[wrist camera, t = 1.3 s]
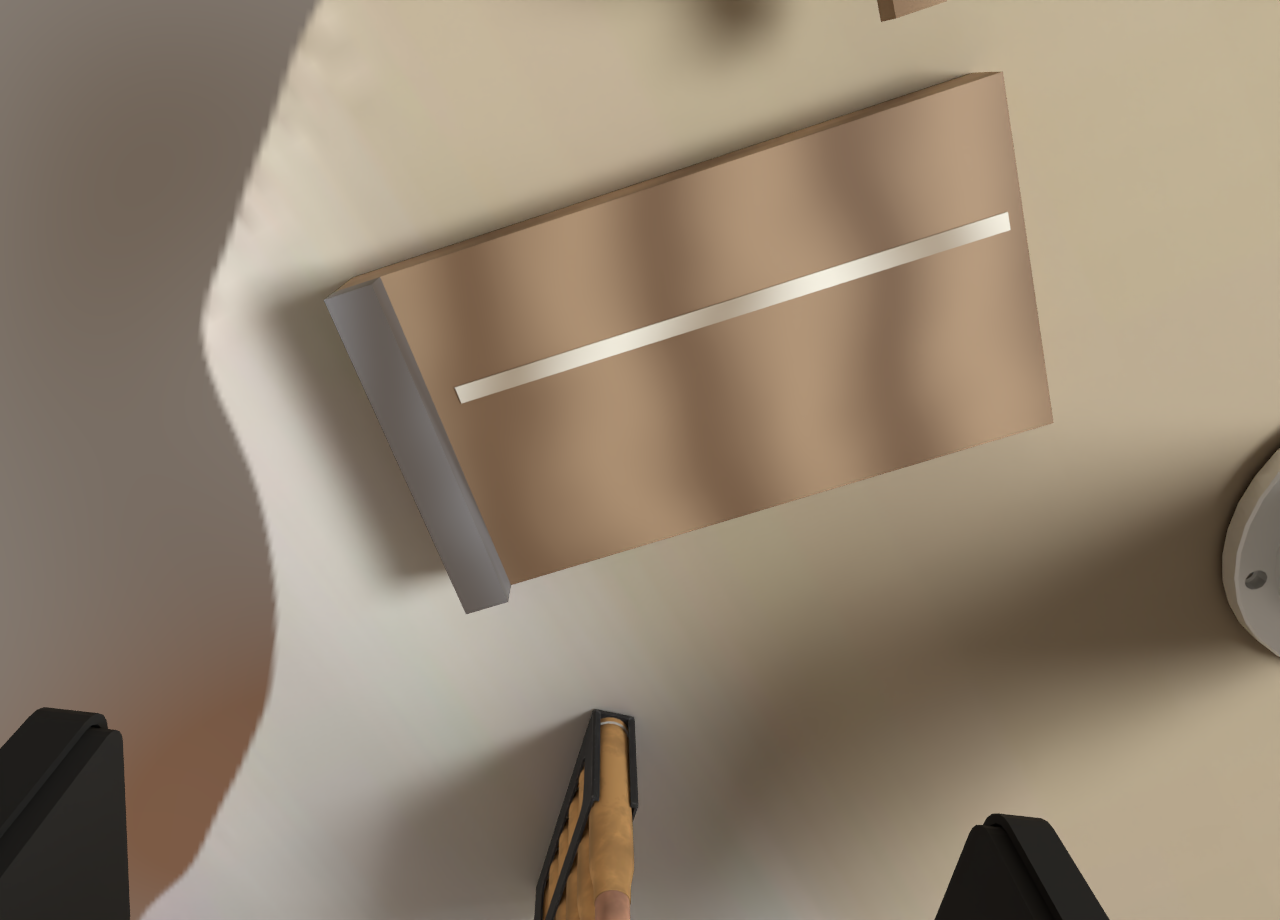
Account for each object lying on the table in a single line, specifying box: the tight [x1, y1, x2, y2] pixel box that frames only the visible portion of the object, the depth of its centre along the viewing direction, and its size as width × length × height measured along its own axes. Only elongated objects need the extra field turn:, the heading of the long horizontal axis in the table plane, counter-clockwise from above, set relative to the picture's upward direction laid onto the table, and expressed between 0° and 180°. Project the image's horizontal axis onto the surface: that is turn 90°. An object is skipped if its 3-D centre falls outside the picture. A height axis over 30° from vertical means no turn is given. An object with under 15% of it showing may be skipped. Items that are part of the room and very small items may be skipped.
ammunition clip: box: [534, 710, 638, 920], centre depth 36 cm, size 11×2×12 cm, turn 164°
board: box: [324, 72, 1053, 614], centre depth 31 cm, size 22×12×4 cm, turn 107°
